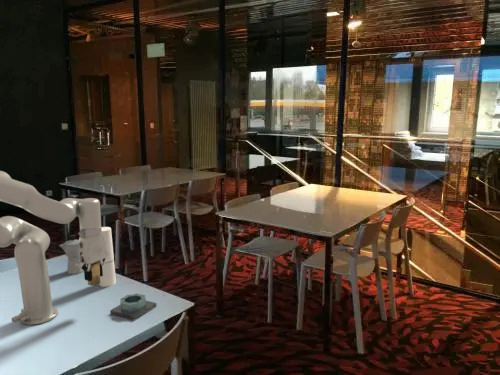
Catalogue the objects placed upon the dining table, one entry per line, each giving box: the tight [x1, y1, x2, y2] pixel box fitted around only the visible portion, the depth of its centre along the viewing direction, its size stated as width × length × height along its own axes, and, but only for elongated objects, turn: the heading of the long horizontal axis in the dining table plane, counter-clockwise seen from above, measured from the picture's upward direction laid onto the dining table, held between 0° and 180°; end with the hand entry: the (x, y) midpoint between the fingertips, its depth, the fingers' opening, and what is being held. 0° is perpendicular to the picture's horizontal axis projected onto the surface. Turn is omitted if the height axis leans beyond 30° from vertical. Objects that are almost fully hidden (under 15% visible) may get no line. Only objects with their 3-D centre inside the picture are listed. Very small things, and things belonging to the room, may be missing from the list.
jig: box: [110, 293, 157, 321], centre depth 163 cm, size 12×12×4 cm
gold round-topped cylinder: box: [87, 261, 101, 286], centre depth 162 cm, size 5×5×8 cm
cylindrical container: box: [98, 226, 117, 288], centre depth 187 cm, size 7×7×25 cm
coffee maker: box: [58, 234, 84, 276], centre depth 205 cm, size 15×9×18 cm, turn 114°
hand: (93, 277), depth 162 cm, fingers closed on gold round-topped cylinder, 4 cm apart
